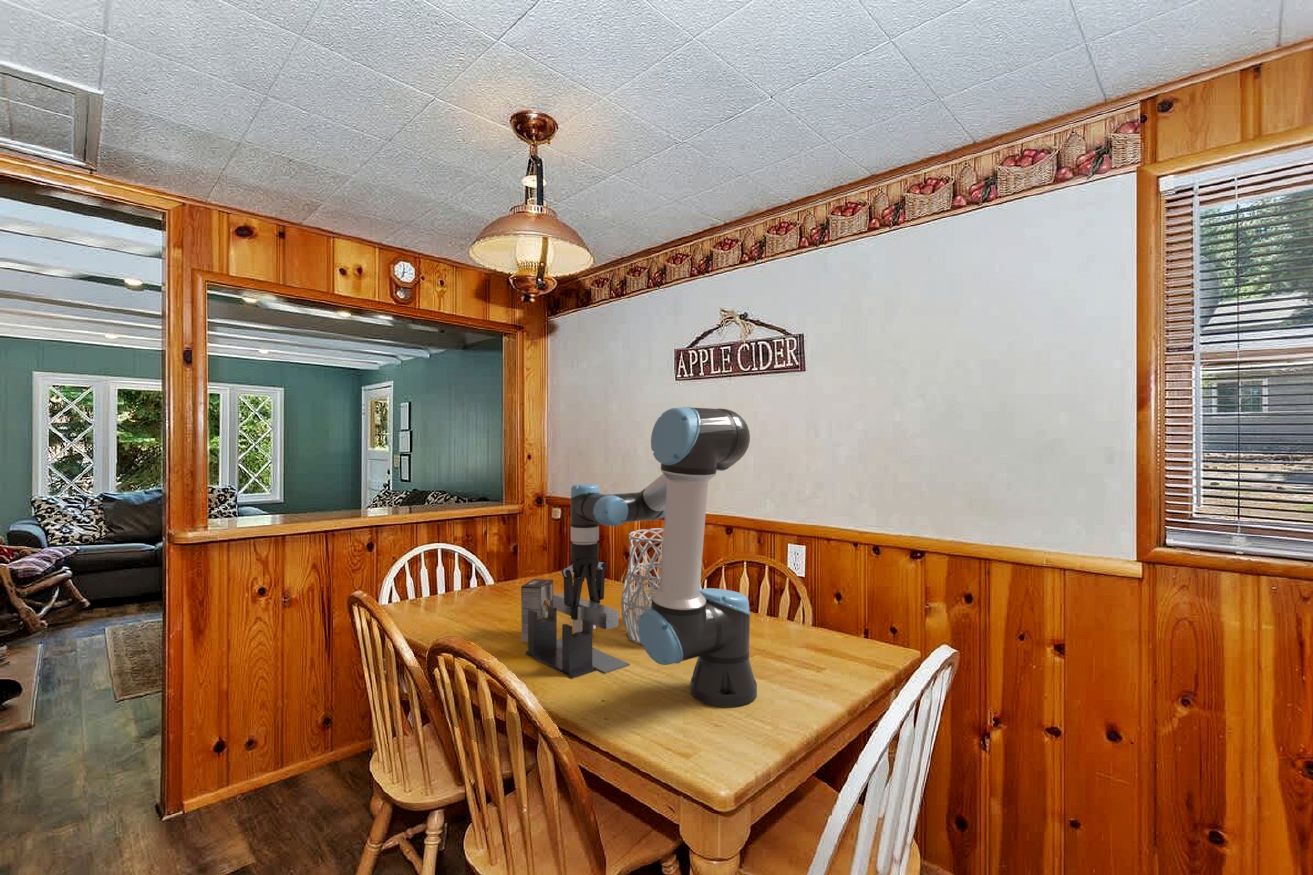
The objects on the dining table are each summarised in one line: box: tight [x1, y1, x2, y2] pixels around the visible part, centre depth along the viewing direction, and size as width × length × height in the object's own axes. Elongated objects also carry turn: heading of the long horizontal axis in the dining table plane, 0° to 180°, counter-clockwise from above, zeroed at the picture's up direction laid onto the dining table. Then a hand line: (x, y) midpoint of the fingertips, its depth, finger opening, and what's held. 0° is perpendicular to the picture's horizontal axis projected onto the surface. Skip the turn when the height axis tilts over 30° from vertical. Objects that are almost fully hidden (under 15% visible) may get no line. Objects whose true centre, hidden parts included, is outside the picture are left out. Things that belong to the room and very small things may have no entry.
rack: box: [524, 606, 597, 679], centre depth 156 cm, size 22×7×12 cm, turn 43°
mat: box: [557, 637, 631, 674], centre depth 161 cm, size 28×8×1 cm, turn 43°
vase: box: [620, 527, 703, 645], centre depth 177 cm, size 24×24×30 cm
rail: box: [553, 592, 620, 630], centre depth 161 cm, size 24×4×4 cm, turn 43°
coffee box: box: [520, 578, 554, 643], centre depth 174 cm, size 9×6×16 cm
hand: (584, 629), depth 161 cm, fingers closed on rail, 4 cm apart
